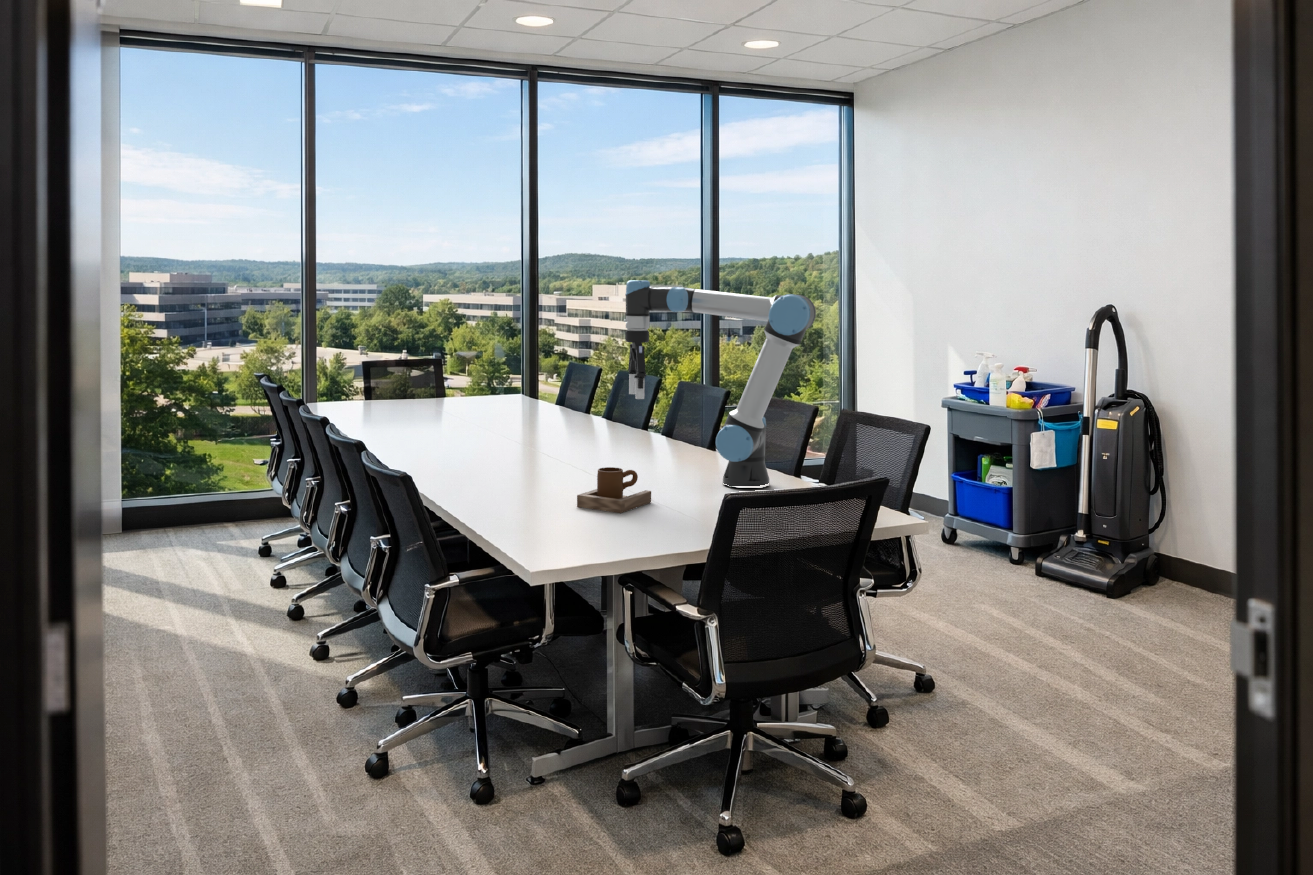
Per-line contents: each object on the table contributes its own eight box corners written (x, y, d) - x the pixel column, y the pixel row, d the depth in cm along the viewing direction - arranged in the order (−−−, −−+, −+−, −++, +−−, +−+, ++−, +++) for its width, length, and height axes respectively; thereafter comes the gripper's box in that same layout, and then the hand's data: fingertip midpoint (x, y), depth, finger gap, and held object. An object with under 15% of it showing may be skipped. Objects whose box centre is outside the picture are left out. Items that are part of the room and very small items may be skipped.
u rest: (651, 502, 299) (651, 490, 298) (620, 513, 284) (621, 501, 284) (608, 496, 306) (608, 485, 306) (577, 506, 291) (577, 495, 291)
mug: (635, 497, 301) (635, 466, 299) (639, 502, 293) (640, 471, 292) (595, 498, 298) (595, 467, 297) (599, 504, 291) (599, 472, 290)
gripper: (620, 327, 328) (619, 392, 332) (631, 331, 304) (630, 401, 307) (642, 327, 330) (641, 392, 333) (655, 331, 305) (654, 401, 309)
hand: (636, 396), depth 320 cm, fingers open, 13 cm apart
